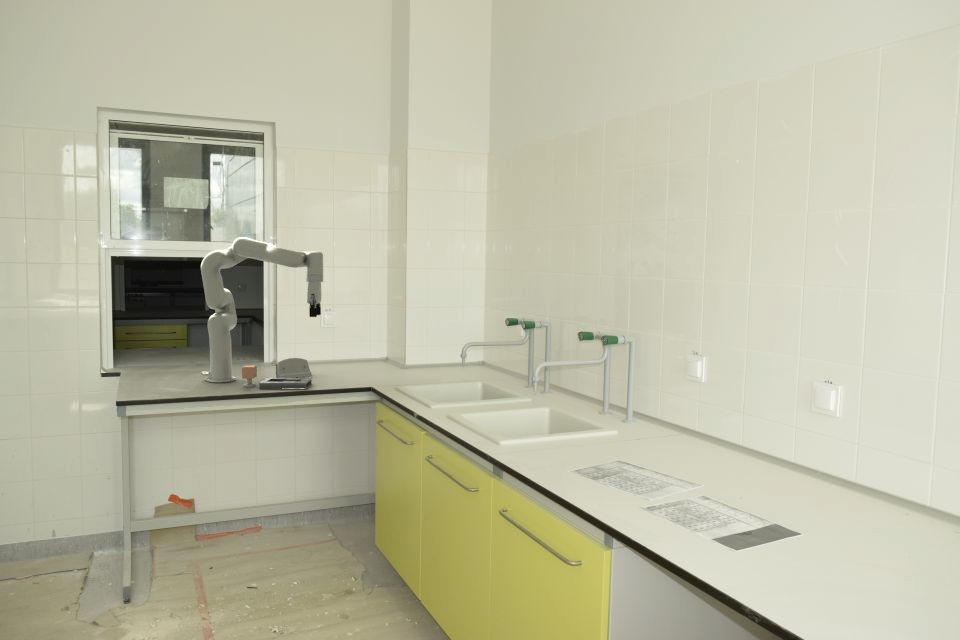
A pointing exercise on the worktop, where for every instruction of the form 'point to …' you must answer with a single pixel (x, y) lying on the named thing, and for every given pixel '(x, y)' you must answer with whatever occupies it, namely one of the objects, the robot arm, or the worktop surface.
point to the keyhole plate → (284, 383)
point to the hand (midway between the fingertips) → (315, 316)
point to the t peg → (249, 374)
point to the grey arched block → (292, 368)
